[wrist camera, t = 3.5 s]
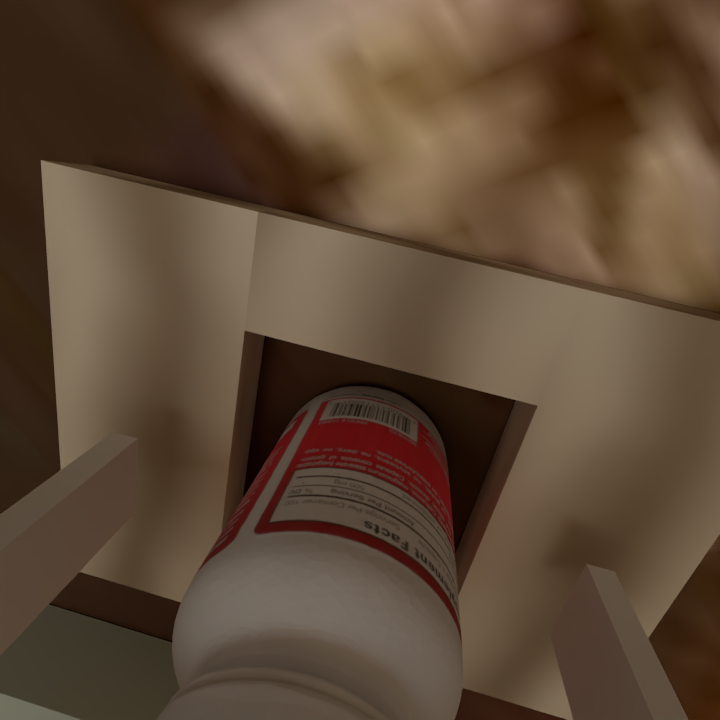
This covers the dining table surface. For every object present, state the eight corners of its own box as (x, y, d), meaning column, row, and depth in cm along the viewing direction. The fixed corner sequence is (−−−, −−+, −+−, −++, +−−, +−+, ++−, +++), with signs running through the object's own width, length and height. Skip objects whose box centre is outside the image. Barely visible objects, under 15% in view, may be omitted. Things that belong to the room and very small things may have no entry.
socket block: (100, 533, 20) (67, 567, 18) (92, 165, 14) (40, 160, 12) (572, 673, 19) (587, 725, 17) (784, 329, 13) (845, 351, 11)
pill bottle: (332, 536, 18) (204, 982, 8) (258, 415, 16) (-24, 770, 6) (474, 493, 16) (550, 995, 6) (405, 353, 15) (349, 706, 4)
